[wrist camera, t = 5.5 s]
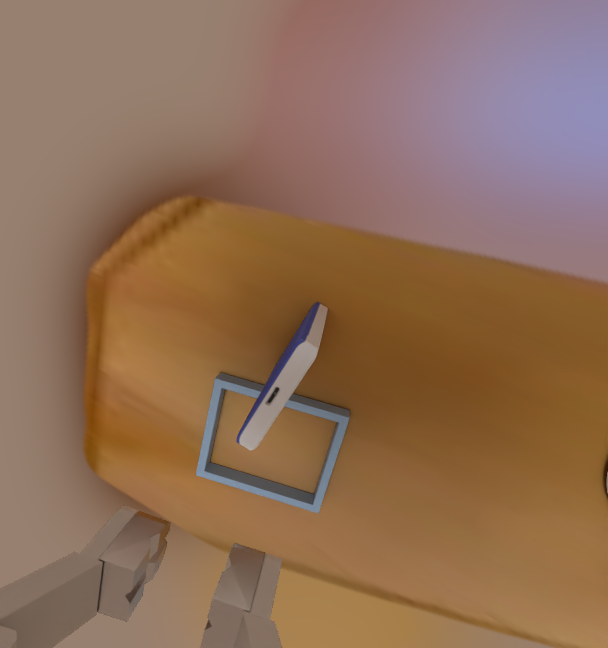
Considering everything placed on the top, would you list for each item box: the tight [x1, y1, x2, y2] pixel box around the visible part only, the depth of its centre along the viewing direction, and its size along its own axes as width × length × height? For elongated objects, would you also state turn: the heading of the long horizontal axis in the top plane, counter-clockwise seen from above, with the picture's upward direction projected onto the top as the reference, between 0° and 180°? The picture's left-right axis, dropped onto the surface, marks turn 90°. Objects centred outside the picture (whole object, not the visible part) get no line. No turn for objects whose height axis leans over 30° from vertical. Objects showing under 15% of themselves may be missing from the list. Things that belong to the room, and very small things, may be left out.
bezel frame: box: [196, 373, 350, 513], centre depth 34 cm, size 14×12×2 cm
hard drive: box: [237, 302, 328, 451], centre depth 25 cm, size 2×8×12 cm, turn 149°
